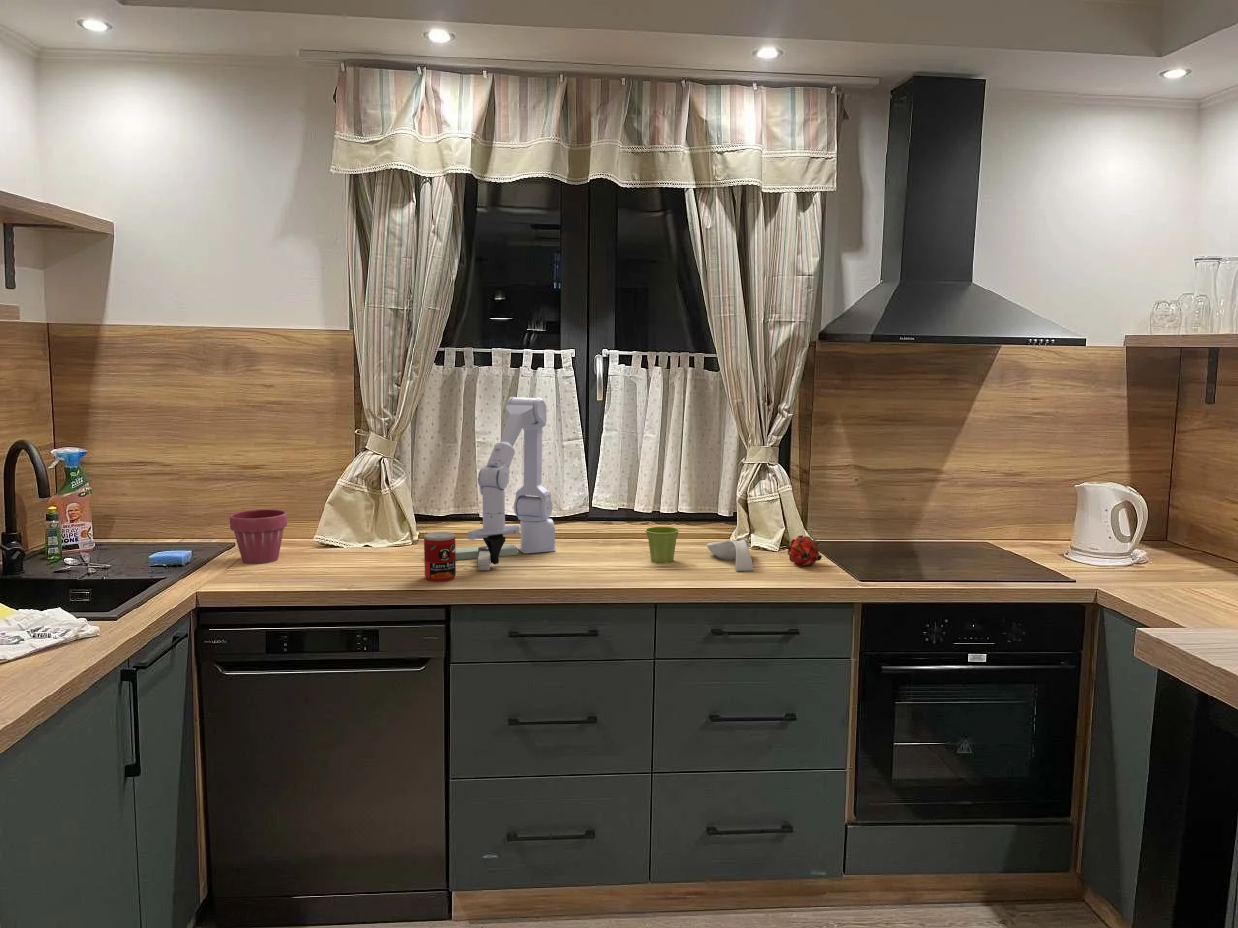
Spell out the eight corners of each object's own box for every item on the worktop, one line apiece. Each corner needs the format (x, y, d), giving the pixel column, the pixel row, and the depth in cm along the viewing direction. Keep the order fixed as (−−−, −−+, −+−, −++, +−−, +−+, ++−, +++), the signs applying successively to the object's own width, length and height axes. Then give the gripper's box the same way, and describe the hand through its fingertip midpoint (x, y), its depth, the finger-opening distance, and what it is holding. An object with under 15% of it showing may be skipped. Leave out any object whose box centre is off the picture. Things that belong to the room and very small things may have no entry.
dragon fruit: (804, 565, 256) (807, 581, 245) (779, 547, 256) (781, 563, 244) (823, 542, 254) (828, 558, 242) (799, 524, 253) (802, 539, 242)
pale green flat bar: (511, 550, 264) (511, 544, 264) (517, 554, 259) (517, 547, 259) (427, 558, 254) (427, 550, 254) (431, 562, 249) (431, 554, 249)
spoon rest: (702, 553, 264) (702, 528, 263) (742, 552, 266) (743, 527, 265) (723, 572, 241) (724, 545, 240) (767, 571, 243) (768, 544, 242)
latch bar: (478, 557, 254) (478, 546, 254) (493, 557, 254) (493, 546, 254) (475, 570, 240) (475, 558, 239) (491, 569, 240) (491, 557, 240)
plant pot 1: (229, 567, 241) (227, 519, 240) (233, 556, 255) (231, 510, 253) (288, 564, 246) (286, 516, 244) (288, 553, 259) (287, 507, 258)
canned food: (429, 583, 227) (429, 539, 226) (420, 576, 234) (420, 533, 233) (460, 579, 230) (459, 536, 229) (450, 573, 237) (449, 530, 236)
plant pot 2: (653, 565, 247) (653, 533, 246) (639, 558, 256) (639, 527, 255) (685, 563, 250) (685, 531, 249) (670, 556, 259) (670, 525, 258)
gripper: (509, 507, 250) (510, 556, 252) (461, 513, 241) (462, 564, 243) (523, 511, 244) (524, 561, 246) (475, 517, 236) (475, 569, 237)
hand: (494, 563), depth 244 cm, fingers closed, pressing on latch bar
